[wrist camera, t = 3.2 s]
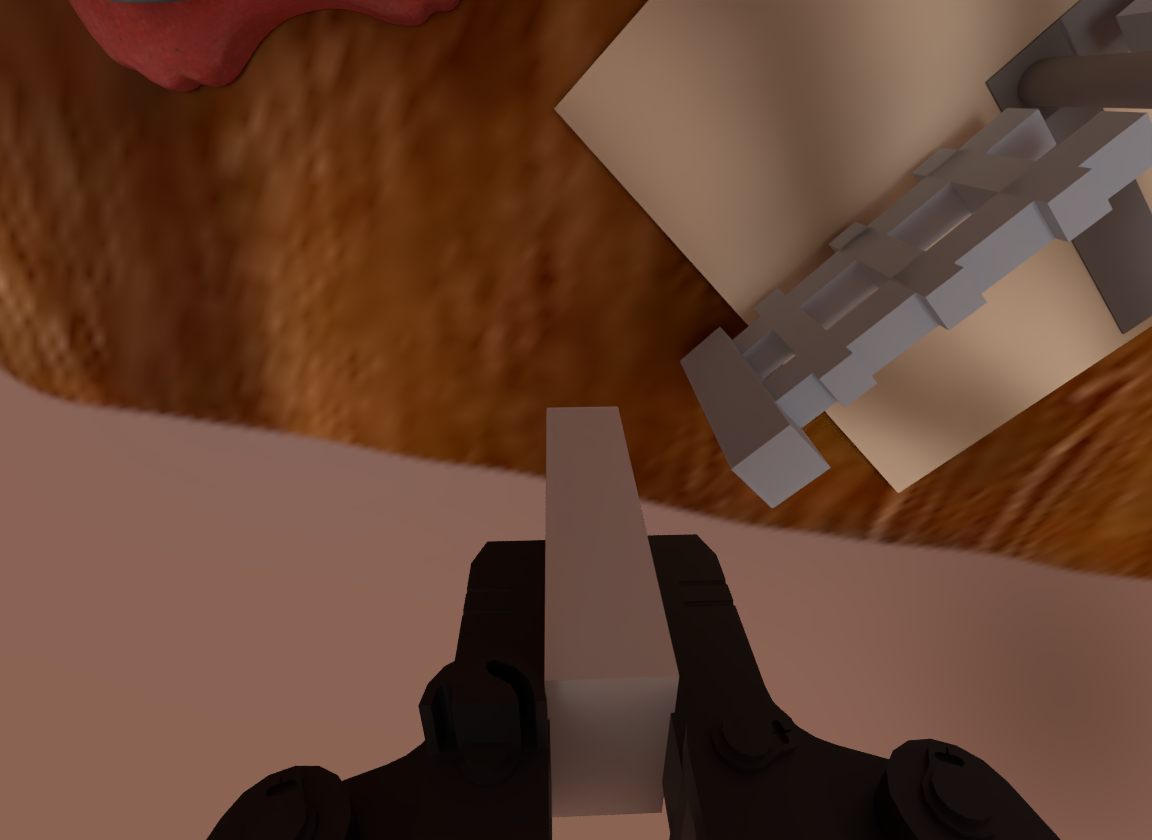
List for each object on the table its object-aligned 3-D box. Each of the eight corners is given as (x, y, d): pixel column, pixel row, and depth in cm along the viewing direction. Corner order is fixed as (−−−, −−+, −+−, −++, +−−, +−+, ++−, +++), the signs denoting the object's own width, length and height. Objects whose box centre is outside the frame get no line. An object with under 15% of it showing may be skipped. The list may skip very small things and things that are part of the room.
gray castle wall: (983, 98, 17) (1217, 102, 11) (1010, 147, 18) (1245, 174, 12) (679, 361, 21) (730, 469, 15) (711, 392, 21) (772, 508, 15)
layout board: (1415, -883, 10) (1469, -944, 10) (1529, 57, 18) (1564, 56, 17) (554, 108, 17) (554, 109, 17) (890, 484, 25) (899, 494, 24)
